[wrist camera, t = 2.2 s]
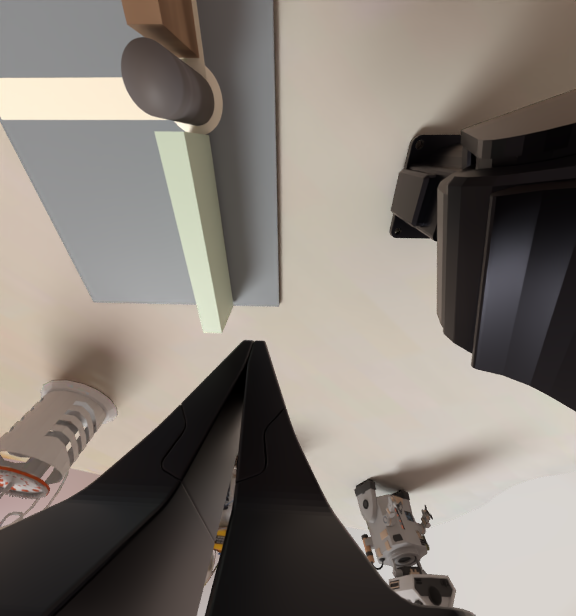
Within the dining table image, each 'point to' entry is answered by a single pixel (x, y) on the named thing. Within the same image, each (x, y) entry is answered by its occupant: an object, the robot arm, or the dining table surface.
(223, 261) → the swing panel
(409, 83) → the dining table surface
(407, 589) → the figurine
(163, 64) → the brown wooden bar
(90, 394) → the french press
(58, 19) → the card
